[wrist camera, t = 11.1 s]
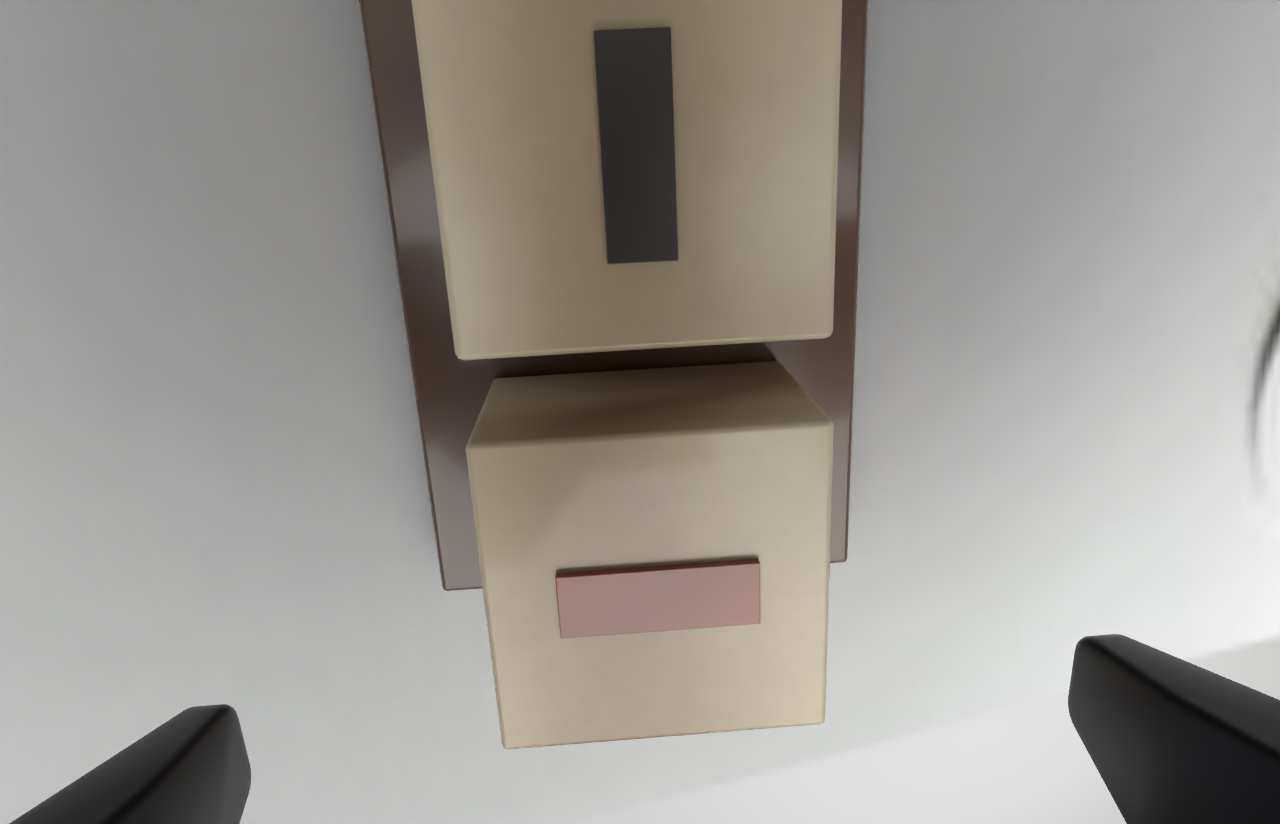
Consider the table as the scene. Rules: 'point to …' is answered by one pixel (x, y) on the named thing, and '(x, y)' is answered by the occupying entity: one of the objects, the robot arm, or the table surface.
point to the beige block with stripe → (653, 551)
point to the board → (617, 203)
